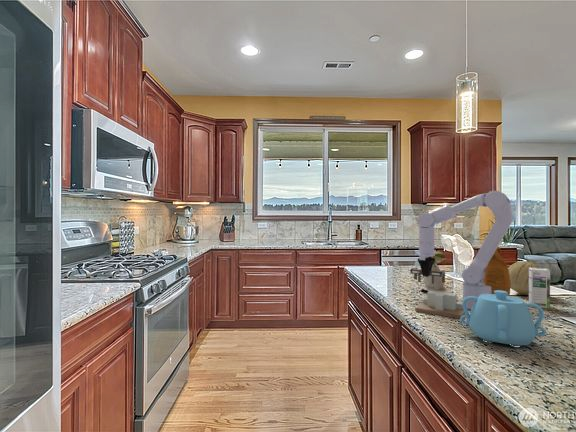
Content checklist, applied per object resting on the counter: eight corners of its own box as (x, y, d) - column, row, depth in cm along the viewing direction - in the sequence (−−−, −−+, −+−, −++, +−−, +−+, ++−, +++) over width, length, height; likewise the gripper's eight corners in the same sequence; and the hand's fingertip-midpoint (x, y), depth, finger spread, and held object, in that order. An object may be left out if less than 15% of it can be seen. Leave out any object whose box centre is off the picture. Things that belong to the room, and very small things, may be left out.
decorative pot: (504, 328, 101) (504, 284, 101) (553, 349, 85) (553, 297, 85) (455, 330, 99) (455, 285, 99) (496, 352, 83) (496, 299, 83)
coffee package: (510, 299, 135) (510, 246, 135) (510, 306, 125) (511, 248, 125) (482, 295, 141) (482, 244, 141) (480, 302, 130) (480, 247, 130)
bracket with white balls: (441, 285, 128) (441, 272, 128) (409, 281, 135) (409, 269, 135) (445, 282, 135) (445, 270, 135) (414, 279, 142) (414, 267, 142)
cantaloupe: (498, 292, 147) (498, 259, 147) (518, 289, 153) (518, 257, 153) (534, 300, 133) (534, 263, 133) (554, 297, 140) (555, 261, 140)
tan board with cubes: (461, 318, 109) (462, 300, 109) (415, 310, 118) (415, 293, 118) (466, 310, 119) (467, 293, 119) (423, 303, 128) (423, 287, 128)
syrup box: (531, 307, 124) (531, 268, 124) (528, 303, 129) (528, 266, 129) (550, 309, 122) (550, 270, 121) (546, 305, 127) (546, 267, 127)
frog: (441, 296, 139) (441, 253, 139) (414, 290, 150) (414, 250, 150) (456, 293, 146) (456, 251, 146) (429, 287, 156) (430, 249, 156)
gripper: (420, 241, 141) (420, 272, 141) (411, 243, 130) (411, 277, 130) (438, 241, 137) (438, 274, 137) (430, 244, 126) (430, 279, 126)
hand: (426, 276), depth 133 cm, fingers closed on bracket with white balls, 2 cm apart
